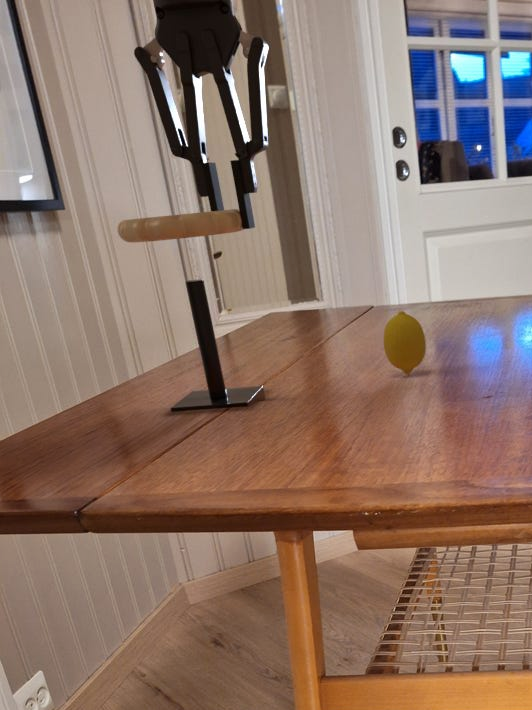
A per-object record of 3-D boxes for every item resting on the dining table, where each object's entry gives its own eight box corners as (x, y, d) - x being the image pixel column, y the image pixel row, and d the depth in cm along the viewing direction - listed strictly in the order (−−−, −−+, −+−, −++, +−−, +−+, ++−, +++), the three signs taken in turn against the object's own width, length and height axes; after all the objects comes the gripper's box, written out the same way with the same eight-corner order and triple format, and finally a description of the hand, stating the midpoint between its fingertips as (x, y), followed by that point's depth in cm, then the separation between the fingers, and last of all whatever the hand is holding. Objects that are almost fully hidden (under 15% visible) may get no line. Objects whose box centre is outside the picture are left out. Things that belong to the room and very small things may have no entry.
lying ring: (103, 246, 89) (97, 222, 88) (146, 239, 101) (141, 218, 100) (231, 233, 89) (227, 209, 88) (259, 228, 101) (255, 206, 100)
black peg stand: (173, 420, 101) (142, 287, 94) (194, 403, 109) (167, 279, 102) (249, 415, 101) (224, 281, 94) (265, 398, 109) (242, 273, 102)
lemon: (429, 368, 118) (423, 306, 115) (427, 377, 113) (421, 312, 110) (389, 371, 119) (382, 309, 115) (385, 380, 114) (377, 315, 110)
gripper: (272, -38, 87) (310, 222, 98) (120, -25, 87) (176, 233, 98) (255, -56, 80) (299, 225, 91) (91, -41, 80) (154, 237, 92)
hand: (235, 228), depth 95 cm, fingers closed on lying ring, 2 cm apart
